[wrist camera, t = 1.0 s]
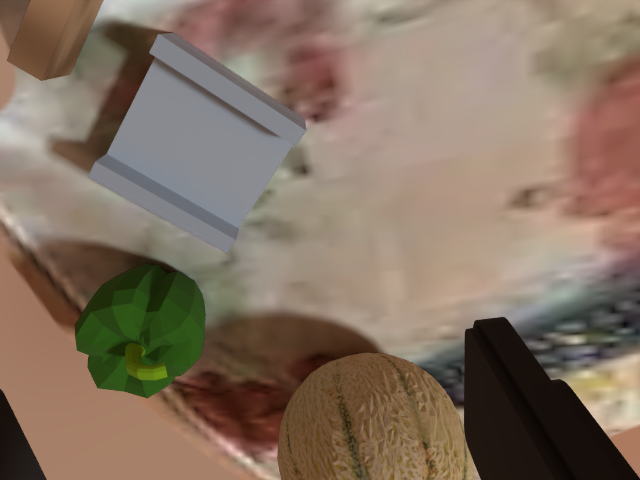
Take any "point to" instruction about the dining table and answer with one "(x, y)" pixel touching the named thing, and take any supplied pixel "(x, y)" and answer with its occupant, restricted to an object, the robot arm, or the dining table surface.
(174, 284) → the bell pepper
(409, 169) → the dining table surface
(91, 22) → the channel
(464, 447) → the cantaloupe
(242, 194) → the cradle
